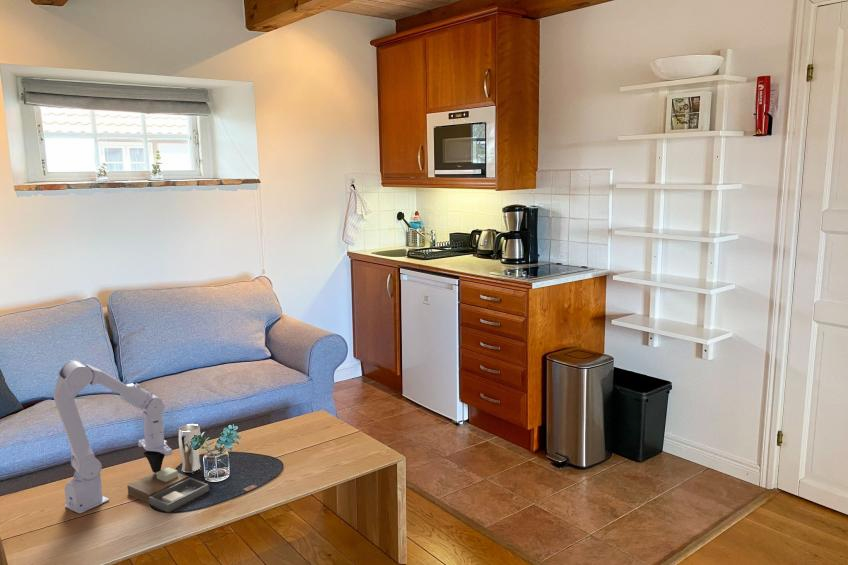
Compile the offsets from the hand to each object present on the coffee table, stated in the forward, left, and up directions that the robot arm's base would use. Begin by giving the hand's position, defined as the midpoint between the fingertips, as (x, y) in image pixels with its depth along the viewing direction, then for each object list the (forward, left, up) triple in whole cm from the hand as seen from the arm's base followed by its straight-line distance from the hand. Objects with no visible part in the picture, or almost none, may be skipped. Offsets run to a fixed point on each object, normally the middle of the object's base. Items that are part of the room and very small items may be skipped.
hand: (156, 471), depth 210 cm
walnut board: (-3, -5, -4) cm, 7 cm away
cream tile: (-6, -16, -1) cm, 17 cm away
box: (-3, -15, -4) cm, 16 cm away
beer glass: (+11, -2, -4) cm, 12 cm away
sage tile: (0, -5, -1) cm, 5 cm away
